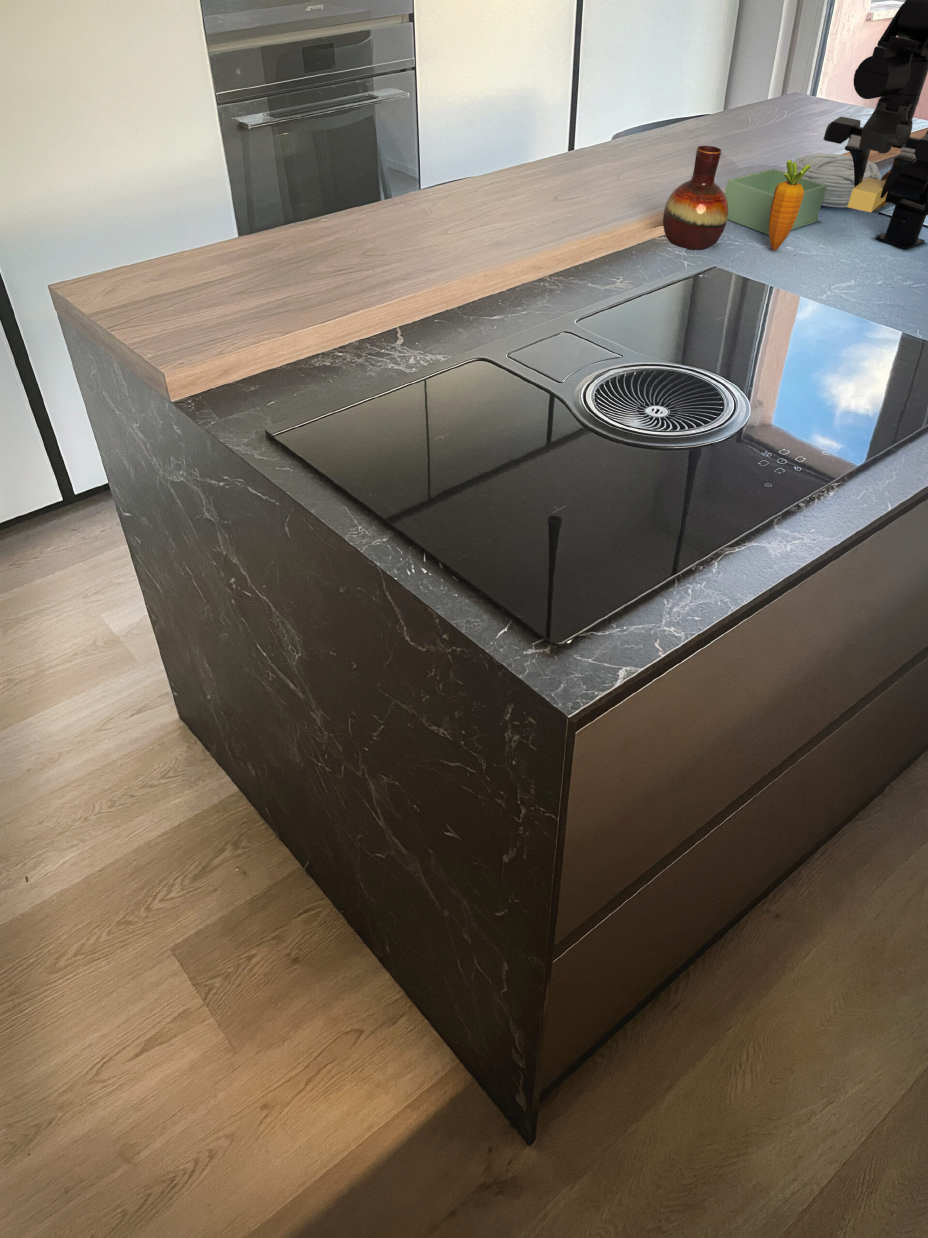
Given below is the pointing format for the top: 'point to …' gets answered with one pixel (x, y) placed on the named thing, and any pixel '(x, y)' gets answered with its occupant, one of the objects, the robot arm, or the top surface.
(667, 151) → the top surface
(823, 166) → the cable
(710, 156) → the vase
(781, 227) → the carrot
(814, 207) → the storage bin
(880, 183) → the butter block
